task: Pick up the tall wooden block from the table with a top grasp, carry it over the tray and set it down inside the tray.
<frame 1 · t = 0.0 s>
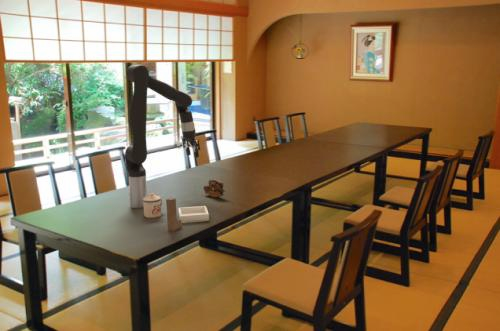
hand: (193, 156, 287), 22 cm above the table, tool pointing down, fingers open, 8 cm apart
teacup with lid: (154, 214, 255), on the table
wooden block: (174, 228, 233), on the table
wooden carving: (214, 197, 284), on the table
tray: (193, 217, 249), on the table
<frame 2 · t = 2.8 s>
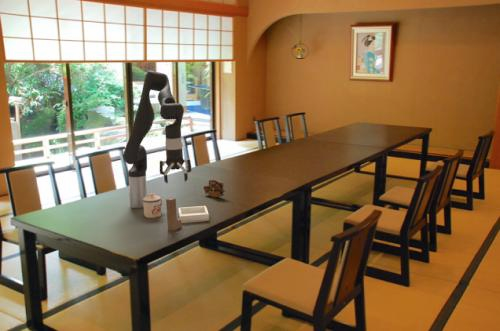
hand: (176, 181, 230), 22 cm above the table, tool pointing down, fingers open, 8 cm apart
nothing on the table moved.
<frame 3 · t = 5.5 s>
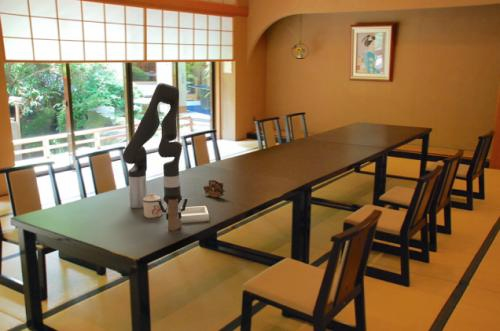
hand: (173, 219, 232), 4 cm above the table, tool pointing down, fingers closed on wooden block, 4 cm apart
wooden block: (174, 228, 233), on the table, touching gripper
everything else where it was.
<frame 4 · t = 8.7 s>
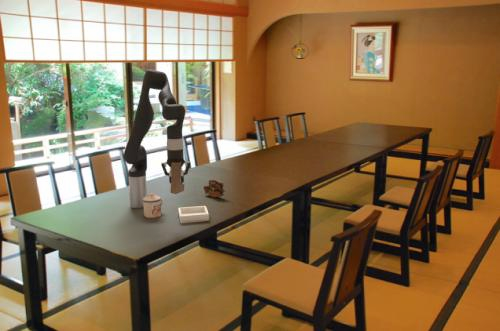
hand: (176, 183, 233), 21 cm above the table, tool pointing down, fingers closed on wooden block, 4 cm apart
wooden block: (177, 192, 234), point 16 cm above the table, touching gripper
everything else where it was.
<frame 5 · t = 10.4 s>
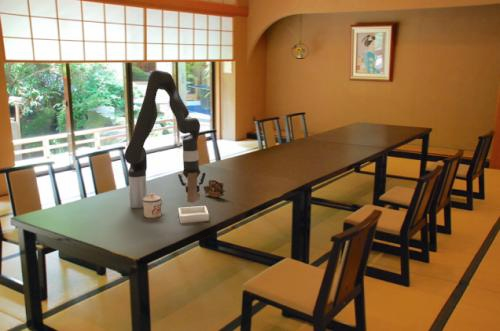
hand: (192, 192, 246), 13 cm above the table, tool pointing down, fingers closed on wooden block, 4 cm apart
wooden block: (193, 201, 247), point 8 cm above the table, touching gripper
everything else where it was.
when the fingers open (7 cm above the table, at t = 11.8 s): wooden block drops 1 cm, resting on tray.
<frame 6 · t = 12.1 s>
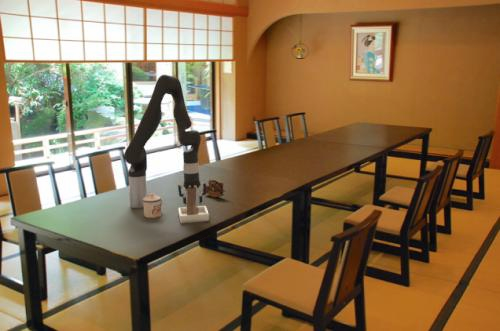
hand: (192, 203, 247), 7 cm above the table, tool pointing down, fingers open, 6 cm apart
wooden block: (192, 215, 248), point 1 cm above the table, touching tray
everything else where it was.
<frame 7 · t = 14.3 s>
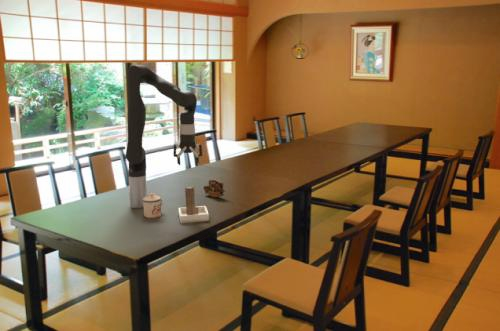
hand: (188, 164, 250), 26 cm above the table, tool pointing down, fingers open, 8 cm apart
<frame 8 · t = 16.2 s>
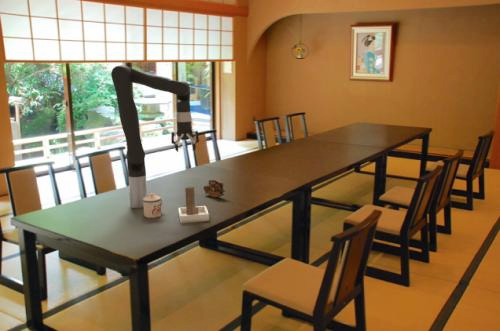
hand: (185, 151, 262), 30 cm above the table, tool pointing down, fingers open, 8 cm apart
nothing on the table moved.
at the end: wooden block inside the target area on the tray (0.4 cm from its centre), point 0.8 cm above the tray's base; the gripper is holding nothing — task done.
